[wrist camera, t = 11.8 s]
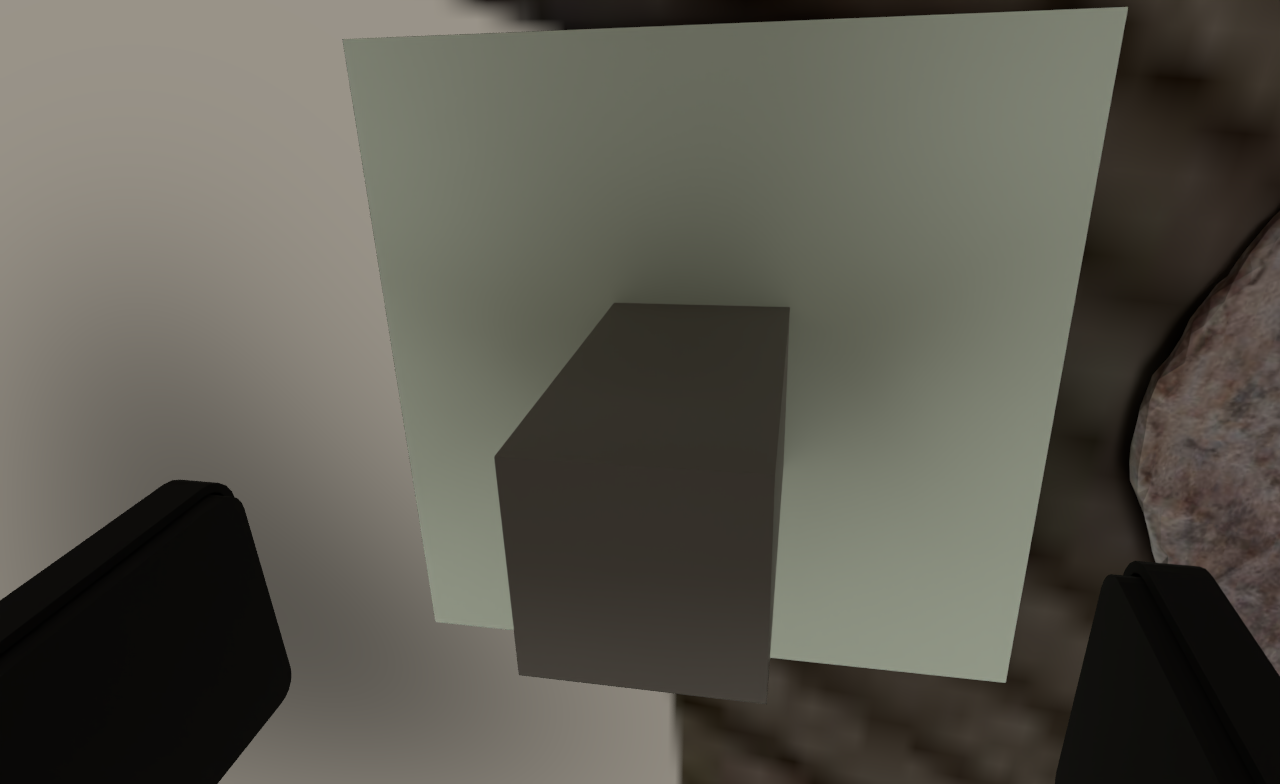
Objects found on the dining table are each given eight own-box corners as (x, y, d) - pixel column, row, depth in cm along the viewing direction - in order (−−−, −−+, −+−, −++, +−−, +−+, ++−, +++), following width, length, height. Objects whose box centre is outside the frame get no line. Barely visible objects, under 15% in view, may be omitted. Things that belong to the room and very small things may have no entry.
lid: (1107, 9, 14) (1419, -30, 7) (996, 653, 19) (1104, 1010, 12) (368, 39, 17) (29, 34, 9) (451, 598, 22) (275, 866, 15)
